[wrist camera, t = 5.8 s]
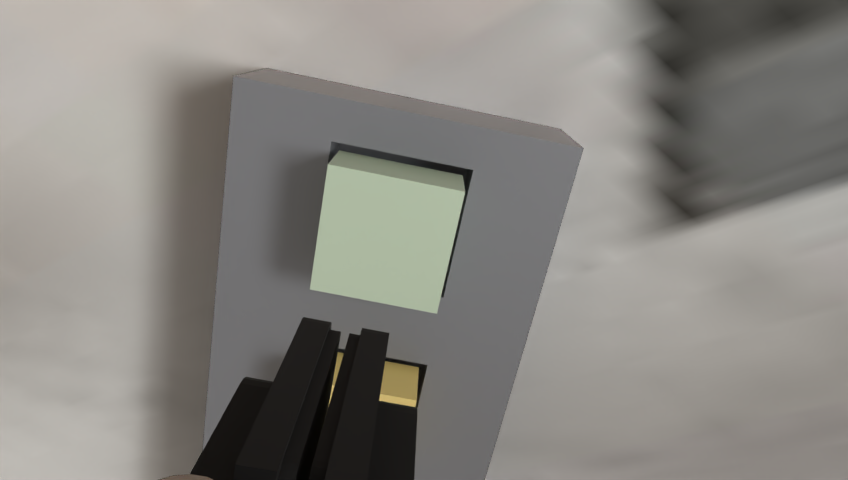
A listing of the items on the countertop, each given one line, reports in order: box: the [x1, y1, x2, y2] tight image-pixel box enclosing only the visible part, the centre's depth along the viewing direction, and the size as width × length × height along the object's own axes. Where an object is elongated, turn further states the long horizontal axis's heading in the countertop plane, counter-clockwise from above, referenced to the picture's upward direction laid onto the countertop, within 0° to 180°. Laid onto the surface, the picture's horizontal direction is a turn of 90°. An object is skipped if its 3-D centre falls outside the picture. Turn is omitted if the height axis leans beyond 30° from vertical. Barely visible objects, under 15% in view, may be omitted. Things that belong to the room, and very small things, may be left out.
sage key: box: [310, 150, 465, 314], centre depth 20 cm, size 4×4×2 cm
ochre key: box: [329, 352, 419, 407], centre depth 23 cm, size 4×4×2 cm
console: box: [203, 68, 583, 480], centre depth 25 cm, size 12×24×4 cm, turn 169°
